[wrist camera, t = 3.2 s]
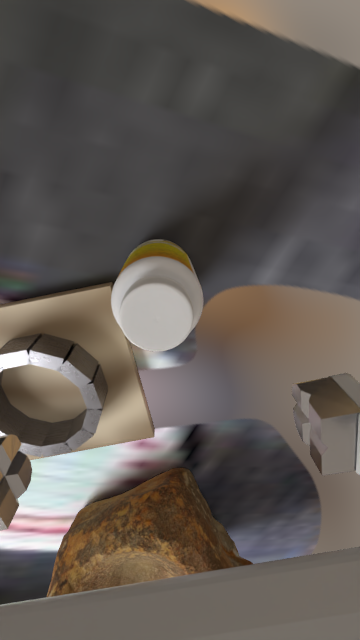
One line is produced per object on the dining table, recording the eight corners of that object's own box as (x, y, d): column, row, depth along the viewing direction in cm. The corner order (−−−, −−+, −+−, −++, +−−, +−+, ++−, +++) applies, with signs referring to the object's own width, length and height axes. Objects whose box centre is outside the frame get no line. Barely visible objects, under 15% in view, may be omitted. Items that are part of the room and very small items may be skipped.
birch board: (-71, 318, 26) (-82, 324, 25) (112, 281, 25) (110, 285, 24) (5, 456, 32) (0, 465, 31) (154, 428, 32) (154, 437, 31)
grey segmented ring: (-33, 347, 26) (-57, 366, 23) (86, 324, 26) (77, 339, 23) (15, 440, 30) (0, 465, 27) (119, 420, 30) (114, 443, 27)
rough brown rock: (259, 437, 34) (318, 592, 20) (256, 545, 39) (302, 731, 25) (51, 449, 34) (-39, 611, 20) (75, 555, 39) (17, 745, 25)
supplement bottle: (113, 255, 25) (82, 292, 15) (176, 226, 24) (184, 247, 15) (143, 313, 27) (132, 379, 17) (202, 289, 26) (224, 342, 17)
